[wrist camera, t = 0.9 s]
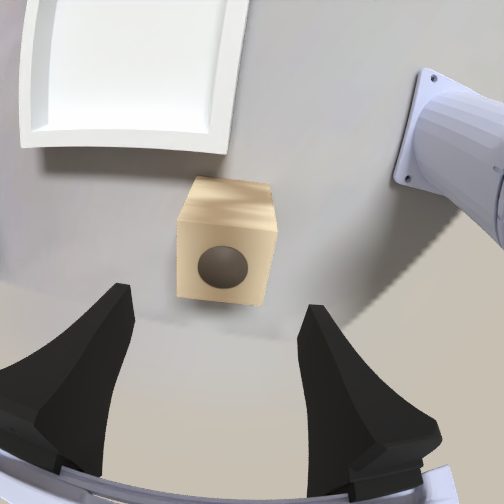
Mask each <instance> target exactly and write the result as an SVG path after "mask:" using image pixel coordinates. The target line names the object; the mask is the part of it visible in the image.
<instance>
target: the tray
mask: <svg viewBox="0 0 504 504" xmlns="http://www.w3.org/2000/svg"><path fill="white" fill-rule="evenodd" d="M249 5H250V0H28V2H27V7H26V13H25V20H24V27H23V35H22V44H21V56H20V72H19V123H20V140H21V148H32V147H64V146H100V147H134V148H154V149H170V150H183V151H195V152H206V153H216V154H225V155H226V154H227V150H228V147H229V142H230V134H231V126H232V118H233V111H234V103H235V96H236V89H237V82H238V75H239V68H240V62H241V55H242V48H243V42H244V36H245V29H246V23H247V17H248V11H249Z"/></svg>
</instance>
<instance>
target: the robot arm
mask: <svg viewBox="0 0 504 504" xmlns="http://www.w3.org/2000/svg"><path fill="white" fill-rule="evenodd" d="M432 75H433V76H434V81H433V82H432V80H431V76H432ZM407 175H409V178H408V180H406V181H405V177H406V176H407ZM393 178H394V180H395V182H397V183H398V184H401V185H405V186H409V187H413V188H417V189H420V190H424V191H428V192H432V193H435V194H439V195H442V196H446V197H447V198H448V199H450V200H451V201H452V202H453V203H454V204H455V205H457V206H458V207H459V208H460V209H461V210H462V211H463V212H465V213H466V214H467V215H468V216H469V217H470V218H471V219H472V220H473V221H475V222H476V223H477V224H478V225H479V226H480V227H481V228H482V229H483V230H484V231H485V232H486V233H487V234H488V235H489V236H491V238H492V239H493V240H494V241H495V242H496V243H497V244H498V245H499V246H500V247H501V248H502V249H503V250H504V103H503V102H500V101H496V100H493V99H490V98H486V97H483V96H482V95H480V94H478V93H476V92H475V91H473V90H471V89H469V88H467V87H466V86H464V85H462V84H460V83H458V82H456V81H454V80H452V79H450V78H448V77H446V76H444V75H442V74H440V73H437V72H435V71H433V70H431V69H428V68H421V69H420V71H419V73H418V79H417V83H416V88H415V93H414V97H413V102H412V106H411V111H410V115H409V119H408V123H407V127H406V131H405V135H404V139H403V142H402V146H401V150H400V153H399V157H398V160H397V164H396V167H395V171H394V174H393ZM134 323H135V316H134V310H133V303H132V296H131V288H130V285H127V284H120V283H116V284H114V285H113V286H112V287H111V288H110V289H109V290H108V291H107V292H106V293H105V294H104V295H103V296H102V297H101V298H100V299H99V300H98V301H97V302H96V303H95V304H94V305H93V306H92V307H91V308H90V309H89V310H88V311H87V312H86V313H84V314H83V316H81V317H80V318H79V319H78V320H77V321H76V322H75V323H74V324H72V325H71V326H70V327H69V328H68V329H67V330H65V331H64V332H63V333H62V334H60V335H59V336H58V337H56V338H55V339H54V340H52V341H51V342H50V343H48V344H47V345H45V346H44V347H42V348H41V349H39V350H38V351H36V352H34V353H33V354H31V355H29V356H28V357H26V358H24V359H22V360H20V361H19V362H17V363H15V364H13V365H11V366H8V367H6V368H4V369H1V370H0V498H2V499H4V500H6V501H7V502H9V503H11V504H118V503H114V502H112V501H109V500H106V499H103V498H100V497H97V496H94V495H98V496H101V497H105V498H108V499H112V500H116V501H120V502H124V503H128V504H459V500H458V496H457V492H456V488H455V484H454V480H453V477H452V473H451V469H450V466H449V465H444V466H441V467H438V468H435V469H432V470H429V471H426V472H424V473H422V474H421V470H420V468H421V467H423V460H422V458H423V457H425V456H426V455H428V454H429V453H430V452H432V451H433V450H435V449H436V448H437V447H438V446H439V445H440V444H441V442H442V436H441V433H440V430H439V427H438V424H437V422H436V420H434V419H433V418H431V417H429V416H428V415H426V414H425V413H423V412H422V411H420V410H418V409H417V408H415V407H414V406H413V405H411V404H410V403H408V402H407V401H406V400H404V399H403V398H402V397H401V396H399V395H398V394H397V393H396V392H395V391H393V390H392V389H391V388H390V387H389V386H388V385H387V384H386V383H384V382H383V381H382V380H381V379H380V378H379V377H378V376H377V375H376V374H375V373H374V372H373V371H372V369H370V367H369V366H368V365H367V364H366V363H365V362H364V360H363V359H362V358H361V357H360V356H359V354H358V353H357V352H356V351H355V350H354V348H353V347H352V345H351V344H350V343H349V341H348V340H347V339H346V338H345V336H344V335H343V333H342V332H341V330H340V329H339V327H338V326H337V325H336V323H335V322H334V320H333V319H332V317H331V316H330V314H329V313H328V311H327V310H326V308H325V307H324V306H323V305H311V304H309V306H308V309H307V312H306V315H305V318H304V320H303V323H302V326H301V329H300V332H299V334H298V337H297V345H298V361H299V367H300V372H301V378H302V383H303V389H304V395H305V400H306V407H307V415H308V440H309V467H308V468H309V469H308V487H307V498H299V499H281V500H280V499H279V500H237V499H219V498H206V497H195V496H187V495H179V494H172V493H166V492H160V491H153V490H149V489H144V488H139V487H133V486H130V485H125V484H121V483H117V482H113V481H109V480H105V479H102V478H99V477H100V476H102V463H103V462H102V461H103V449H104V440H105V432H106V425H107V419H108V413H109V407H110V403H111V397H112V393H113V390H114V386H115V383H116V380H117V377H118V374H119V372H120V369H121V366H122V363H123V360H124V358H125V355H126V352H127V349H128V347H129V344H130V340H131V336H132V332H133V328H134ZM93 494H94V495H93Z"/></svg>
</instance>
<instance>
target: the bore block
mask: <svg viewBox="0 0 504 504" xmlns="http://www.w3.org/2000/svg"><path fill="white" fill-rule="evenodd" d="M277 234H278V229H277V223H276V217H275V211H274V206H273V200H272V194H271V189H270V184H264V183H257V182H249V181H241V180H232V179H224V178H215V177H205V176H196V179H195V181H194V183H193V185H192V187H191V190H190V192H189V194H188V196H187V199H186V201H185V203H184V206H183V208H182V210H181V213H180V215H179V217H178V220H177V297H182V298H190V299H199V300H208V301H217V302H226V303H236V304H246V305H256V306H262V304H263V299H264V295H265V290H266V286H267V281H268V277H269V272H270V267H271V263H272V258H273V253H274V249H275V244H276V239H277Z"/></svg>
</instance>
